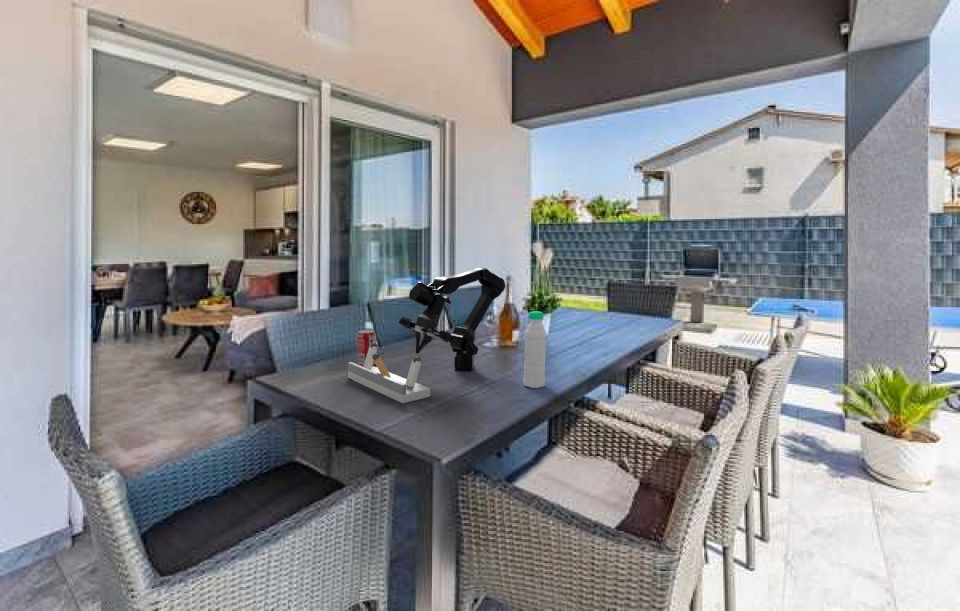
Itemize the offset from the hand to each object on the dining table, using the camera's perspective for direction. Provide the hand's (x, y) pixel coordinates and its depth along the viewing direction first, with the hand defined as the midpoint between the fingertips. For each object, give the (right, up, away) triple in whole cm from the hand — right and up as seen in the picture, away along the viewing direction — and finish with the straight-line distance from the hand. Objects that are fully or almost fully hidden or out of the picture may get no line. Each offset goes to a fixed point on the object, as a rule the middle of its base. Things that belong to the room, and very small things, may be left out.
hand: (416, 353), depth 167 cm
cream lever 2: (0, -9, -17) cm, 19 cm away
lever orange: (-9, -7, -7) cm, 13 cm away
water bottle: (+39, -11, -4) cm, 41 cm away
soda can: (-22, -6, +21) cm, 31 cm away
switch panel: (-9, -10, -7) cm, 15 cm away
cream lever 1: (-18, -6, +2) cm, 19 cm away
